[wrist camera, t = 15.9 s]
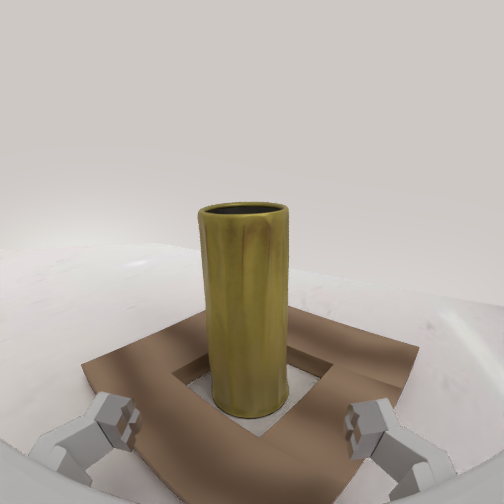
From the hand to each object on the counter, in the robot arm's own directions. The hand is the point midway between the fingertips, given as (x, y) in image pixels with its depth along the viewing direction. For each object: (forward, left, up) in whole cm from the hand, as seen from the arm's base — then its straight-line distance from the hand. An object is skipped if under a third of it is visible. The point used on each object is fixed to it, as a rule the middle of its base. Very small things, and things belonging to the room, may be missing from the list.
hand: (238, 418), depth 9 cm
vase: (-7, -6, -8) cm, 13 cm away
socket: (-7, -6, -8) cm, 13 cm away
